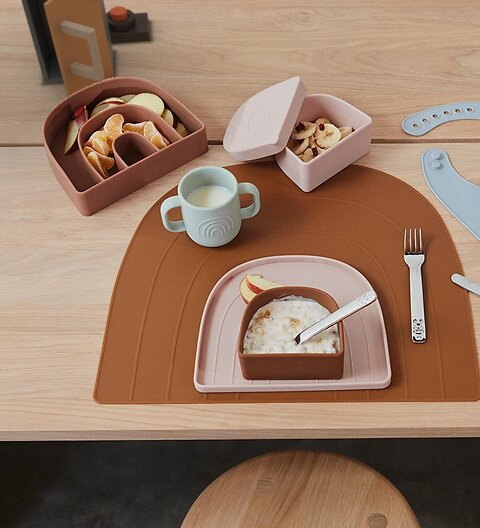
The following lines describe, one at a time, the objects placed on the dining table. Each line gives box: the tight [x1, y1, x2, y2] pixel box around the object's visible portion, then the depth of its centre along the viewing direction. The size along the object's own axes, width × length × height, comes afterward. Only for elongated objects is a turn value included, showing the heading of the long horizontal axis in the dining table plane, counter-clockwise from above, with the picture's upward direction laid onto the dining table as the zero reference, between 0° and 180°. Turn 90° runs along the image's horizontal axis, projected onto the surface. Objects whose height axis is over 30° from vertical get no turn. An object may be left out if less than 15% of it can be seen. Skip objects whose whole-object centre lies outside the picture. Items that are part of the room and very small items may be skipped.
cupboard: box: [21, 0, 114, 84], centre depth 142 cm, size 10×14×24 cm
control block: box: [106, 8, 151, 44], centre depth 158 cm, size 12×8×4 cm, turn 98°
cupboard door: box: [44, 0, 115, 119], centre depth 134 cm, size 8×14×24 cm, turn 155°
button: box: [109, 5, 128, 22], centre depth 156 cm, size 4×4×2 cm
